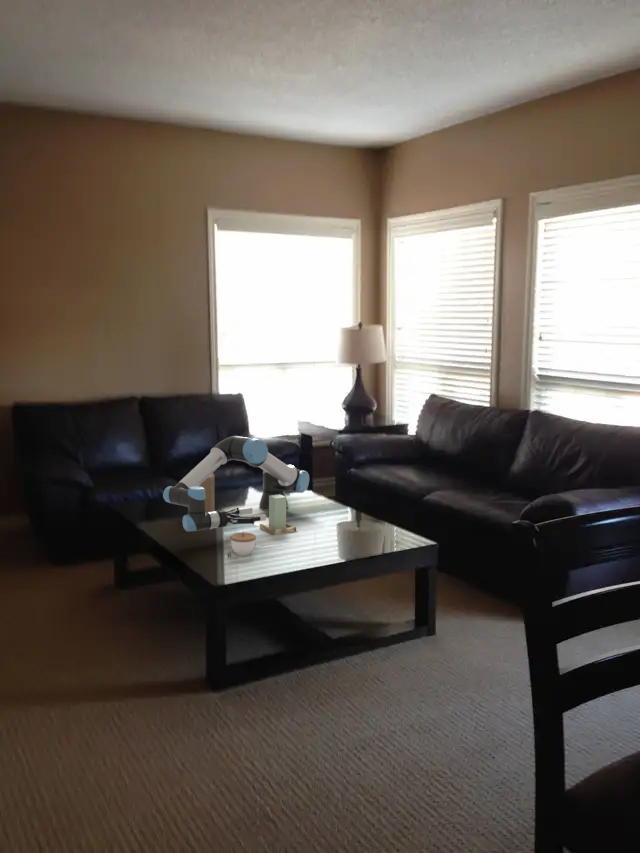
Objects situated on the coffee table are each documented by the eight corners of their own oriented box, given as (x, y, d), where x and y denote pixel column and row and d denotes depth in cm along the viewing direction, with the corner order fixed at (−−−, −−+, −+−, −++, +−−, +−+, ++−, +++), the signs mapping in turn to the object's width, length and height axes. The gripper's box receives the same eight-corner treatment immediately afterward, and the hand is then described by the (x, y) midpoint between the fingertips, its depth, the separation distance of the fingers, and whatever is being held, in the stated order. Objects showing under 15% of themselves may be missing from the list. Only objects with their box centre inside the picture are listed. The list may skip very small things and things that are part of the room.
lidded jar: (260, 553, 319) (261, 532, 318) (241, 559, 311) (242, 537, 310) (244, 548, 326) (244, 527, 325) (225, 553, 319) (225, 532, 317)
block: (214, 511, 388) (215, 473, 385) (210, 515, 378) (210, 477, 376) (196, 510, 389) (196, 472, 386) (190, 515, 379) (190, 476, 377)
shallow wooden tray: (282, 525, 363) (282, 520, 363) (296, 532, 352) (296, 527, 352) (259, 529, 357) (259, 523, 356) (273, 536, 346) (273, 530, 345)
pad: (267, 518, 376) (267, 517, 376) (279, 524, 366) (279, 523, 366) (246, 521, 369) (246, 520, 369) (257, 527, 359) (257, 526, 359)
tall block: (279, 526, 359) (280, 494, 357) (285, 529, 354) (286, 497, 352) (268, 528, 356) (269, 495, 354) (274, 531, 351) (275, 498, 349)
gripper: (205, 520, 348) (246, 515, 359) (228, 534, 327) (271, 528, 338) (205, 505, 347) (246, 500, 358) (228, 517, 326) (271, 512, 337)
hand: (258, 513), depth 348 cm, fingers open, 13 cm apart
